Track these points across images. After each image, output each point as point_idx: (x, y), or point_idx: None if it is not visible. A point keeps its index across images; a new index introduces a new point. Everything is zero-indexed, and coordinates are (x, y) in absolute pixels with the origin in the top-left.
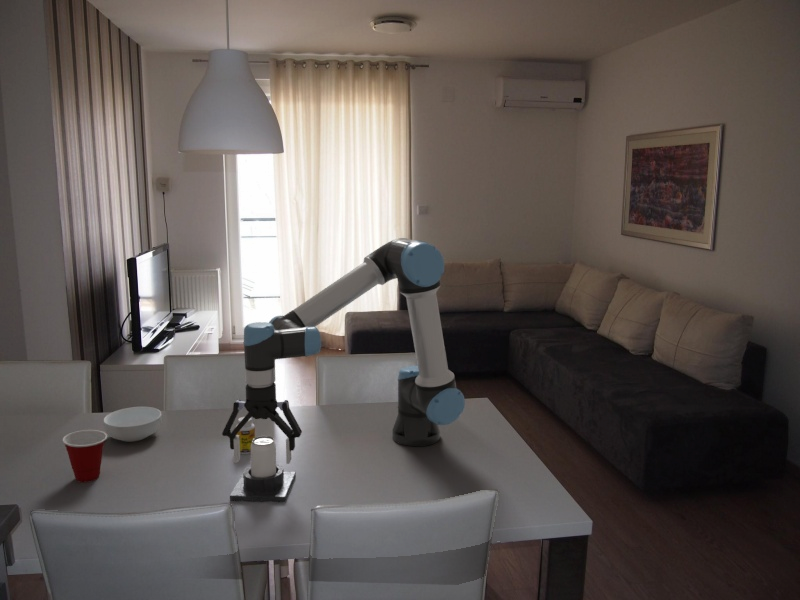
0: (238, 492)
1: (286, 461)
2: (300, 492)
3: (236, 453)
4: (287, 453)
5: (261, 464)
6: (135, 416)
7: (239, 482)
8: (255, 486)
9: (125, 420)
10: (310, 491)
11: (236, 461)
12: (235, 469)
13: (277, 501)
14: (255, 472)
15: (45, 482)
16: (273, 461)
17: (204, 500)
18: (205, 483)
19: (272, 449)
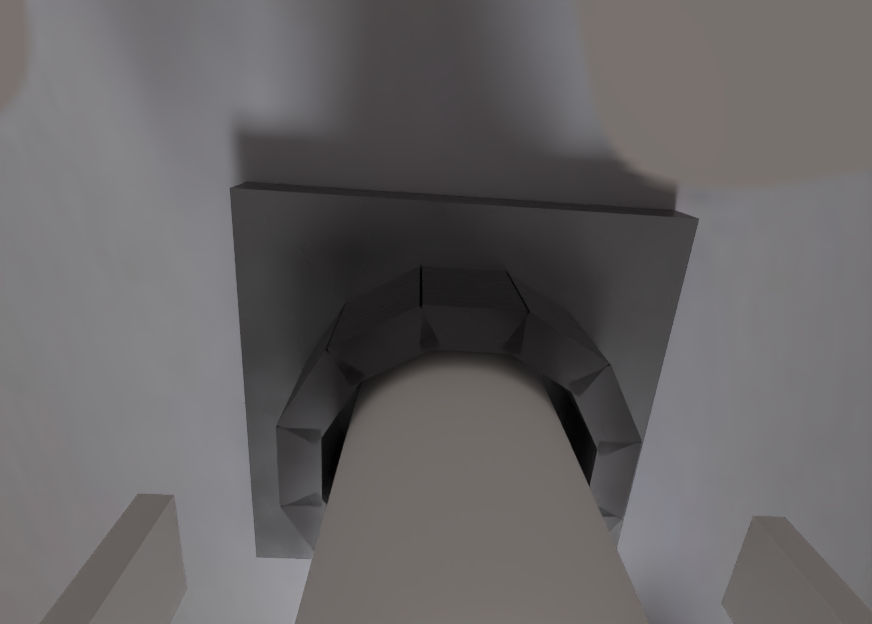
0: (631, 268)
1: (158, 515)
2: (171, 331)
3: (846, 619)
4: (73, 615)
5: (464, 447)
6: None
7: (634, 419)
8: (500, 285)
9: None
10: (100, 345)
11: (771, 526)
12: (663, 605)
13: (305, 186)
14: (524, 402)
15: None
16: (326, 516)
17: (862, 225)
18: (846, 452)
19: None
